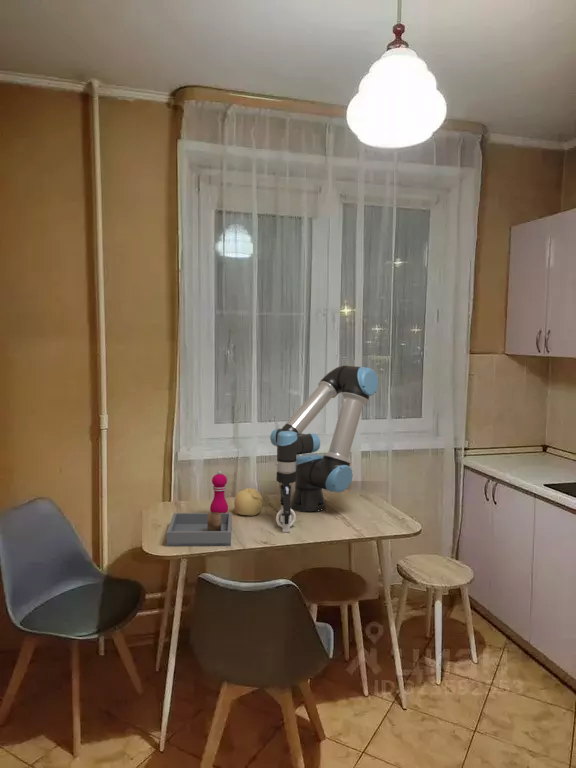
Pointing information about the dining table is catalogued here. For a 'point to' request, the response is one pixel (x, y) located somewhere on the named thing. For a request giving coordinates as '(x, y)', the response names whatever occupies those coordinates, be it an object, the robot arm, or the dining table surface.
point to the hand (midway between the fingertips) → (284, 526)
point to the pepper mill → (219, 493)
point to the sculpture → (248, 502)
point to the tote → (198, 530)
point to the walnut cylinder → (214, 521)
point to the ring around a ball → (282, 518)
